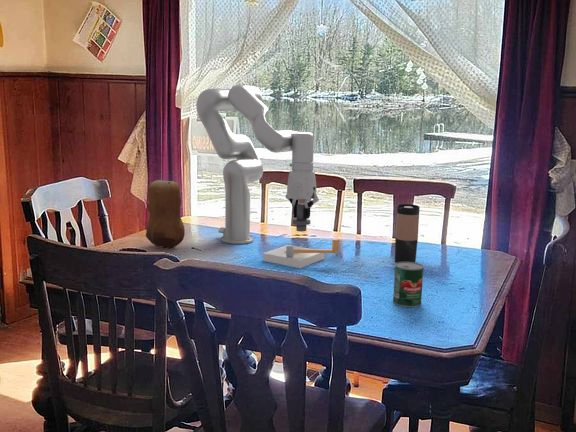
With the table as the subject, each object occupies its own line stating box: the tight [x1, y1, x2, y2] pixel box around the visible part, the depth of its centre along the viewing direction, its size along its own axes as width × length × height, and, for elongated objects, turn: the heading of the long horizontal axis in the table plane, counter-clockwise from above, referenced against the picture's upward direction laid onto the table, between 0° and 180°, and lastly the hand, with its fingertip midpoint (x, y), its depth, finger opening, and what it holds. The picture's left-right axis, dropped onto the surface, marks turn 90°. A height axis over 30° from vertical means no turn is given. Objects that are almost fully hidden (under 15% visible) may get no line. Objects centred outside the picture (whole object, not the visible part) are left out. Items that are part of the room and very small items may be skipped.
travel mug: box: [394, 203, 420, 264], centre depth 218 cm, size 8×8×20 cm
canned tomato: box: [392, 262, 425, 308], centre depth 176 cm, size 8×8×11 cm
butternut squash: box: [145, 179, 186, 249], centre depth 230 cm, size 14×13×25 cm
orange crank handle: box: [285, 238, 339, 257], centre depth 208 cm, size 2×17×6 cm, turn 94°
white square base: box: [262, 244, 325, 269], centre depth 214 cm, size 15×15×4 cm
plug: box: [292, 203, 311, 233], centre depth 227 cm, size 6×6×10 cm
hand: (301, 217), depth 227 cm, fingers closed on plug, 3 cm apart
